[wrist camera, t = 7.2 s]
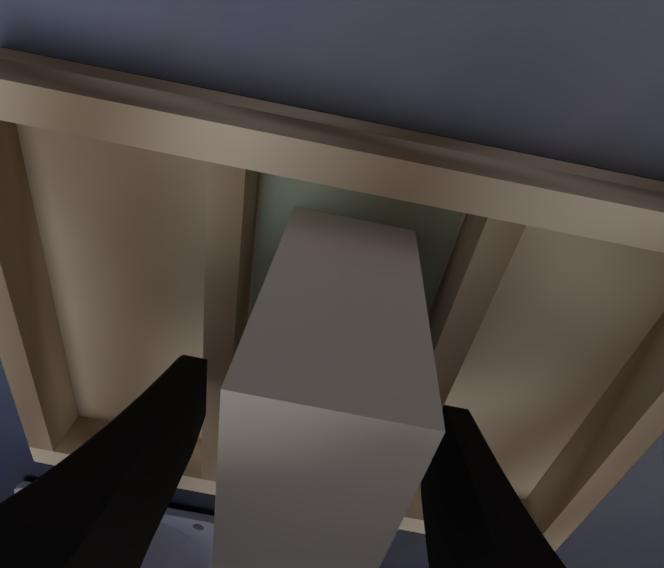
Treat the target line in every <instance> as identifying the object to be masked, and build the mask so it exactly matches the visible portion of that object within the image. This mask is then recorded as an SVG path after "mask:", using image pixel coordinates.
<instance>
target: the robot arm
mask: <svg viewBox="0 0 664 568" xmlns="http://www.w3.org/2000/svg"><path fill="white" fill-rule="evenodd" d="M206 396H207V359H203V358H198V357H193V356H187V355H182V356H180V357H178V358H177V359H176V360H175V361H174V362H173V363H172V365H171V366H170V367H169V368H168V369H167V370H166V371H165V372H164V373H163V374H162V375H161V376H160V377H159V378H158V379H157V380H155V381H154V382H153V383H152V384H151V385H150V386H149V387H148V388H147V389H146V390H145V391H144V392H143V393H142V394H141V395H140V396H139V397H138V398H136V399H135V400H134V401H133V402H132V403H131V404H130V405H129V406H127V407H126V408H125V409H124V410H123V411H122V412H121V413H120V414H119V415H117V416H116V417H115V418H114V419H113V420H112V421H111V422H109V423H108V424H107V425H106V426H105V427H103V428H102V429H101V430H100V431H98V432H97V433H96V434H95V435H94V436H92V437H91V438H90V439H89V440H87V441H86V442H85V443H84V444H83V445H81V446H80V447H79V448H78V449H76V450H75V451H74V452H72V453H71V454H70V455H68V456H67V457H66V458H65V459H63V460H62V461H61V462H59V463H58V464H57V465H55V466H54V467H52V468H51V469H50V470H48V471H47V472H46V473H44V474H43V475H41V476H40V477H39V478H37V479H36V480H34V481H33V482H29V481H23V482H20V483H19V484H18V485H17V487H16V488H15V489H14V493H15V494H14V495H12V496H11V497H9V498H8V499H6V500H5V501H3V502H2V503H0V568H212V555H213V534H214V516H212V515H207V514H202V513H196V512H191V511H185V510H180V509H175V508H169V507H168V505H169V503H170V501H171V499H172V497H173V495H174V493H175V490H176V488H177V486H178V484H179V482H180V480H181V478H182V476H183V473H184V471H185V469H186V467H187V465H188V463H189V460H190V458H191V456H192V454H193V451H194V448H195V446H196V443H197V440H198V437H199V434H200V431H201V428H202V425H203V422H204V419H205V416H206ZM442 412H443V419H444V426H445V434H444V436H443V438H442V440H441V442H440V444H439V446H438V448H437V450H436V452H435V454H434V456H433V458H432V461H431V463H430V465H429V467H428V469H427V471H426V473H425V475H424V477H423V479H422V481H421V501H422V510H423V519H424V528H425V536H426V545H427V553H428V561H429V568H566V567H565V565H564V564H563V563H562V561H561V560H560V558H559V557H558V556H557V554H556V553H555V551H554V550H553V549H552V547H551V546H550V544H549V543H548V541H547V540H546V538H545V537H544V535H543V534H542V532H541V531H540V529H539V528H538V526H537V525H536V523H535V522H534V520H533V519H532V517H531V516H530V514H529V513H528V511H527V510H526V508H525V506H524V505H523V503H522V502H521V500H520V498H519V497H518V495H517V493H516V492H515V490H514V488H513V487H512V485H511V483H510V482H509V480H508V479H507V477H506V475H505V474H504V472H503V470H502V468H501V467H500V465H499V463H498V461H497V460H496V458H495V456H494V454H493V453H492V451H491V449H490V447H489V445H488V444H487V442H486V440H485V438H484V436H483V435H482V433H481V431H480V429H479V427H478V425H477V424H476V422H475V420H474V418H473V416H472V415H471V413H470V411H469V410H468V409H464V408H459V407H454V406H449V405H444V406H443V408H442Z"/></svg>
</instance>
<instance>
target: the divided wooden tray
mask: <svg viewBox="0 0 664 568" xmlns="http://www.w3.org/2000/svg"><path fill="white" fill-rule="evenodd" d="M294 207H298V208H303V209H308V210H313V211H318V212H323V213H328V214H333V215H338V216H344V217H349V218H354V219H359V220H364V221H369V222H374V223H379V224H384V225H389V226H394V227H399V228H404V229H409V230H414V231H415V232H416V239H417V246H418V252H419V259H420V266H421V272H422V279H423V286H424V292H425V299H426V306H427V312H428V319H429V326H430V332H431V339H432V346H433V352H434V359H435V366H436V372H437V379H438V386H439V392H440V399H441V406H442V408H443V406H444V405H449V406H454V407H459V408H464V409H468V410H469V411H470V413H471V415H472V416H473V418H474V420H475V422H476V424H477V425H478V427H479V429H480V431H481V433H482V435H483V436H484V438H485V440H486V442H487V444H488V445H489V447H490V449H491V451H492V453H493V454H494V456H495V458H496V460H497V461H498V463H499V465H500V467H501V468H502V470H503V472H504V474H505V475H506V477H507V479H508V480H509V482H510V483H511V485H512V487H513V488H514V490H515V492H516V493H517V495H518V497H519V498H520V500H521V502H522V503H523V505H524V506H525V508H526V510H527V511H528V513H529V514H530V516H531V517H532V519H533V520H534V522H535V523H536V525H537V526H538V528H539V529H540V531H541V532H542V534H543V535H544V537H545V538H546V540H547V541H548V543H549V544H550V546H551V547H552V549H553V550H554V551H556V550H557V548H558V547H559V546H560V545H561V544H562V543H563V542H564V541H565V540H566V539H567V537H568V536H569V535H570V534H571V533H572V532H573V531H574V530H575V529H576V527H577V526H578V525H579V524H580V523H581V522H582V521H583V520H584V519H585V518H586V516H587V515H588V514H589V513H590V512H591V511H592V510H593V509H594V508H595V507H596V505H597V504H598V503H599V502H600V501H601V500H602V499H603V498H604V497H605V495H606V494H607V493H608V492H609V491H610V490H611V489H612V488H613V487H614V486H615V484H616V483H617V482H618V481H619V480H620V479H621V478H622V477H623V476H624V475H625V473H626V472H627V471H628V470H629V469H630V468H631V467H632V466H633V465H634V463H635V462H636V461H637V460H638V459H639V458H640V457H641V456H642V455H643V454H644V452H645V451H646V450H647V449H648V448H649V447H650V446H651V445H652V444H653V443H654V441H655V440H656V439H657V438H658V437H659V436H660V435H661V434H662V433H663V431H664V182H663V181H658V180H653V179H648V178H643V177H638V176H633V175H628V174H623V173H618V172H613V171H608V170H603V169H599V168H594V167H589V166H584V165H579V164H574V163H569V162H564V161H559V160H554V159H549V158H544V157H539V156H534V155H530V154H525V153H520V152H515V151H510V150H505V149H500V148H495V147H490V146H485V145H480V144H475V143H470V142H465V141H461V140H456V139H451V138H446V137H441V136H436V135H431V134H426V133H421V132H416V131H411V130H406V129H401V128H396V127H391V126H387V125H382V124H377V123H372V122H367V121H362V120H357V119H352V118H347V117H342V116H337V115H332V114H327V113H322V112H318V111H313V110H308V109H303V108H298V107H293V106H288V105H283V104H278V103H273V102H268V101H263V100H258V99H253V98H249V97H244V96H239V95H234V94H229V93H224V92H219V91H214V90H209V89H204V88H199V87H194V86H189V85H184V84H180V83H175V82H170V81H165V80H160V79H155V78H150V77H145V76H140V75H135V74H130V73H125V72H120V71H115V70H111V69H106V68H101V67H96V66H91V65H86V64H81V63H76V62H71V61H66V60H61V59H56V58H51V57H46V56H42V55H37V54H32V53H27V52H22V51H17V50H12V49H7V48H2V47H0V358H1V362H2V365H3V368H4V371H5V374H6V377H7V380H8V383H9V386H10V389H11V392H12V395H13V398H14V401H15V405H16V408H17V411H18V414H19V417H20V420H21V423H22V426H23V429H24V432H25V435H26V438H27V441H28V445H29V448H30V451H31V454H32V457H33V460H34V462H40V463H45V464H51V465H57V464H58V463H59V462H61V461H62V460H63V459H65V458H66V457H67V456H68V455H70V454H71V453H72V452H74V451H75V450H76V449H78V448H79V447H80V446H81V445H83V444H84V443H85V442H86V441H87V440H89V439H90V438H91V437H92V436H94V435H95V434H96V433H97V432H98V431H100V430H101V429H102V428H103V427H105V426H106V425H107V424H108V423H109V422H111V421H112V420H113V419H114V418H115V417H116V416H117V415H119V414H120V413H121V412H122V411H123V410H124V409H125V408H126V407H127V406H129V405H130V404H131V403H132V402H133V401H134V400H135V399H136V398H138V397H139V396H140V395H141V394H142V393H143V392H144V391H145V390H146V389H147V388H148V387H149V386H150V385H151V384H152V383H153V382H154V381H155V380H157V379H158V378H159V377H160V376H161V375H162V374H163V373H164V372H165V371H166V370H167V369H168V368H169V367H170V366H171V365H172V363H173V362H174V361H175V360H176V359H177V358H178V357H180V356H182V355H187V356H193V357H198V358H203V359H207V396H206V416H205V419H204V422H203V425H202V428H201V431H200V434H199V437H198V440H197V443H196V446H195V448H194V451H193V454H192V456H191V458H190V460H189V463H188V465H187V467H186V469H185V471H184V473H183V476H182V478H181V480H180V482H179V484H178V486H177V488H180V489H185V490H191V491H196V492H201V493H207V494H212V495H215V493H216V473H217V453H218V432H219V412H220V391H221V387H222V384H223V382H224V379H225V377H226V375H227V372H228V370H229V367H230V365H231V362H232V360H233V357H234V355H235V352H236V350H237V347H238V345H239V342H240V340H241V337H242V335H243V333H244V330H245V328H246V325H247V323H248V320H249V318H250V315H251V313H252V310H253V308H254V305H255V303H256V300H257V298H258V296H259V293H260V291H261V288H262V286H263V283H264V281H265V278H266V276H267V273H268V271H269V268H270V266H271V263H272V261H273V258H274V256H275V254H276V251H277V249H278V246H279V244H280V241H281V239H282V236H283V234H284V231H285V229H286V226H287V224H288V221H289V219H290V216H291V214H292V212H293V209H294ZM398 529H400V530H406V531H411V532H417V533H422V534H425V528H424V519H423V510H422V501H421V483H420V485H419V487H418V489H417V491H416V493H415V495H414V498H413V500H412V502H411V504H410V506H409V508H408V510H407V512H406V514H405V516H404V518H403V520H402V522H401V524H400V526H399V528H398Z"/></svg>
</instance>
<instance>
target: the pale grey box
mask: <svg viewBox="0 0 664 568" xmlns="http://www.w3.org/2000/svg"><path fill="white" fill-rule="evenodd" d="M444 434H445V426H444V419H443V412H442V406H441V399H440V392H439V386H438V379H437V372H436V366H435V359H434V352H433V346H432V339H431V332H430V326H429V319H428V312H427V306H426V299H425V292H424V286H423V279H422V272H421V266H420V259H419V252H418V246H417V239H416V232H415V231H414V230H409V229H404V228H399V227H394V226H389V225H384V224H379V223H374V222H369V221H364V220H359V219H354V218H349V217H344V216H338V215H333V214H328V213H323V212H318V211H313V210H308V209H303V208H298V207H294V209H293V212H292V214H291V216H290V219H289V221H288V224H287V226H286V229H285V231H284V234H283V236H282V239H281V241H280V244H279V246H278V249H277V251H276V254H275V256H274V258H273V261H272V263H271V266H270V268H269V271H268V273H267V276H266V278H265V281H264V283H263V286H262V288H261V291H260V293H259V296H258V298H257V300H256V303H255V305H254V308H253V310H252V313H251V315H250V318H249V320H248V323H247V325H246V328H245V330H244V333H243V335H242V337H241V340H240V342H239V345H238V347H237V350H236V352H235V355H234V357H233V360H232V362H231V365H230V367H229V370H228V372H227V375H226V377H225V379H224V382H223V384H222V387H221V391H220V412H219V432H218V453H217V473H216V493H215V514H214V534H213V555H212V568H379V567H380V565H381V563H382V561H383V559H384V557H385V555H386V553H387V551H388V549H389V547H390V545H391V543H392V541H393V539H394V537H395V535H396V532H397V530H398V528H399V526H400V524H401V522H402V520H403V518H404V516H405V514H406V512H407V510H408V508H409V506H410V504H411V502H412V500H413V498H414V495H415V493H416V491H417V489H418V487H419V485H420V483H421V481H422V479H423V477H424V475H425V473H426V471H427V469H428V467H429V465H430V463H431V461H432V458H433V456H434V454H435V452H436V450H437V448H438V446H439V444H440V442H441V440H442V438H443V436H444Z"/></svg>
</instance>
